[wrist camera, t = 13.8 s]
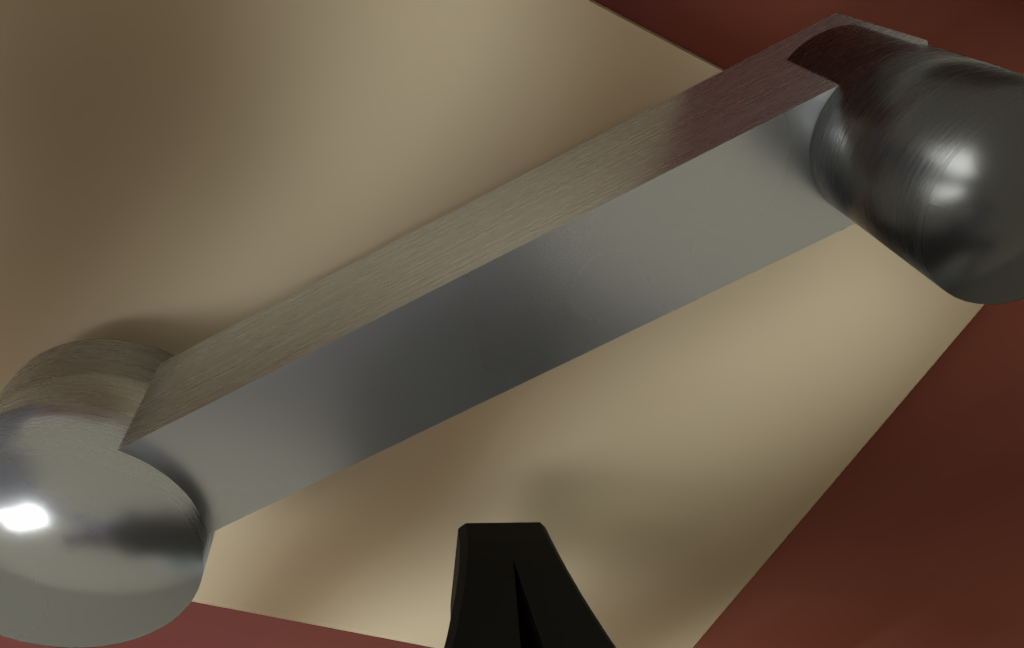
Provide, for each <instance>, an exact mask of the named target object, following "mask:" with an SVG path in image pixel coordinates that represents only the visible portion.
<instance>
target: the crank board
mask: <svg viewBox="0 0 1024 648" xmlns="http://www.w3.org/2000/svg"><path fill="white" fill-rule="evenodd" d="M722 71H724V69H722V68H720V67H718V66H716V65H714V64H712V63H711V62H709V61H707V60H705V59H703V58H701V57H699V56H697V55H695V54H694V53H692V52H690V51H688V50H686V49H684V48H682V47H680V46H678V45H677V44H675V43H673V42H671V41H669V40H667V39H665V38H663V37H661V36H660V35H658V34H656V33H654V32H652V31H650V30H648V29H646V28H644V27H643V26H641V25H639V24H637V23H635V22H633V21H631V20H629V19H627V18H626V17H624V16H622V15H620V14H618V13H616V12H614V11H612V10H610V9H609V8H607V7H605V6H603V5H601V4H599V3H597V2H595V1H593V0H0V393H1V391H2V390H3V389H4V387H5V386H6V385H7V384H8V382H9V381H10V380H11V378H12V377H13V376H14V375H15V374H16V372H17V371H18V370H19V369H20V368H21V367H22V366H23V365H24V364H25V363H27V362H28V361H29V360H30V359H32V358H33V357H35V356H37V355H38V354H40V353H41V352H44V351H46V350H48V349H50V348H53V347H55V346H58V345H62V344H65V343H68V342H73V341H79V340H85V339H101V338H102V339H120V340H127V341H134V342H138V343H142V344H146V345H150V346H153V347H156V348H159V349H162V350H165V351H167V352H169V353H171V354H173V355H177V354H179V353H181V352H183V351H185V350H187V349H188V348H190V347H192V346H194V345H196V344H198V343H200V342H202V341H204V340H206V339H208V338H210V337H212V336H213V335H215V334H217V333H219V332H221V331H223V330H225V329H227V328H229V327H231V326H233V325H235V324H237V323H239V322H240V321H242V320H244V319H246V318H248V317H250V316H252V315H254V314H256V313H258V312H260V311H262V310H264V309H265V308H267V307H269V306H271V305H273V304H275V303H277V302H279V301H281V300H283V299H285V298H287V297H289V296H291V295H292V294H294V293H296V292H298V291H300V290H302V289H304V288H306V287H308V286H310V285H312V284H314V283H316V282H317V281H319V280H321V279H323V278H325V277H327V276H329V275H331V274H333V273H335V272H337V271H339V270H341V269H342V268H344V267H346V266H348V265H350V264H352V263H354V262H356V261H358V260H360V259H362V258H364V257H366V256H368V255H369V254H371V253H373V252H375V251H377V250H379V249H381V248H383V247H385V246H387V245H389V244H391V243H393V242H394V241H396V240H398V239H400V238H402V237H404V236H406V235H408V234H410V233H412V232H414V231H416V230H418V229H420V228H421V227H423V226H425V225H427V224H429V223H431V222H433V221H435V220H437V219H439V218H441V217H443V216H445V215H446V214H448V213H450V212H452V211H454V210H456V209H458V208H460V207H462V206H464V205H466V204H468V203H470V202H471V201H473V200H475V199H477V198H479V197H481V196H483V195H485V194H487V193H489V192H491V191H493V190H495V189H497V188H498V187H500V186H502V185H504V184H506V183H508V182H510V181H512V180H514V179H516V178H518V177H520V176H522V175H523V174H525V173H527V172H529V171H531V170H533V169H535V168H537V167H539V166H541V165H543V164H545V163H547V162H548V161H550V160H552V159H554V158H556V157H558V156H560V155H562V154H564V153H566V152H568V151H570V150H572V149H574V148H575V147H577V146H579V145H581V144H583V143H585V142H587V141H589V140H591V139H593V138H595V137H597V136H599V135H600V134H602V133H604V132H606V131H608V130H610V129H612V128H614V127H616V126H618V125H620V124H622V123H624V122H626V121H627V120H629V119H631V118H633V117H635V116H637V115H639V114H641V113H643V112H645V111H647V110H649V109H651V108H652V107H654V106H656V105H658V104H660V103H662V102H664V101H666V100H668V99H670V98H672V97H674V96H676V95H677V94H679V93H681V92H683V91H685V90H687V89H689V88H691V87H693V86H695V85H697V84H699V83H701V82H703V81H704V80H706V79H708V78H710V77H712V76H714V75H716V74H718V73H720V72H722ZM983 305H984V304H976V303H971V302H966V301H963V300H960V299H958V298H955V297H954V296H952V295H950V294H949V293H947V292H946V291H944V290H943V289H942V288H940V287H939V286H938V285H936V284H935V283H934V282H932V281H931V280H930V279H928V278H927V277H926V276H924V275H923V274H922V273H920V272H919V271H918V270H916V269H915V268H914V267H913V266H911V265H910V264H909V263H907V262H906V261H905V260H903V259H902V258H901V257H899V256H898V255H897V254H895V253H894V252H893V251H891V250H890V249H889V248H887V247H886V246H885V245H883V244H882V243H881V242H879V241H878V240H877V239H876V238H874V237H873V236H872V235H870V234H869V233H868V232H866V231H865V230H864V229H862V228H861V227H860V226H858V225H857V224H853V225H851V226H849V227H847V228H845V229H843V230H841V231H839V232H837V233H835V234H833V235H831V236H828V237H826V238H824V239H822V240H820V241H818V242H816V243H814V244H812V245H810V246H808V247H806V248H803V249H801V250H799V251H797V252H795V253H793V254H791V255H789V256H787V257H785V258H783V259H780V260H778V261H776V262H774V263H772V264H770V265H768V266H766V267H764V268H762V269H760V270H758V271H755V272H753V273H751V274H749V275H747V276H745V277H743V278H741V279H739V280H737V281H735V282H733V283H730V284H728V285H726V286H724V287H722V288H720V289H718V290H716V291H714V292H712V293H710V294H708V295H705V296H703V297H701V298H699V299H697V300H695V301H693V302H691V303H689V304H687V305H685V306H683V307H680V308H678V309H676V310H674V311H672V312H670V313H668V314H666V315H664V316H662V317H660V318H658V319H655V320H653V321H651V322H649V323H647V324H645V325H643V326H641V327H639V328H637V329H635V330H633V331H630V332H628V333H626V334H624V335H622V336H620V337H618V338H616V339H614V340H612V341H610V342H608V343H605V344H603V345H601V346H599V347H597V348H595V349H593V350H591V351H589V352H587V353H585V354H583V355H580V356H578V357H576V358H574V359H572V360H570V361H568V362H566V363H564V364H562V365H560V366H558V367H555V368H553V369H551V370H549V371H547V372H545V373H543V374H541V375H539V376H537V377H535V378H532V379H530V380H528V381H526V382H524V383H522V384H520V385H518V386H516V387H514V388H512V389H510V390H507V391H505V392H503V393H501V394H499V395H497V396H495V397H493V398H491V399H489V400H487V401H485V402H482V403H480V404H478V405H476V406H474V407H472V408H470V409H468V410H466V411H464V412H462V413H460V414H457V415H455V416H453V417H451V418H449V419H447V420H445V421H443V422H441V423H439V424H437V425H435V426H432V427H430V428H428V429H426V430H424V431H422V432H420V433H418V434H416V435H414V436H412V437H410V438H407V439H405V440H403V441H401V442H399V443H397V444H395V445H393V446H391V447H389V448H387V449H385V450H382V451H380V452H378V453H376V454H374V455H372V456H370V457H368V458H366V459H364V460H362V461H360V462H357V463H355V464H353V465H351V466H349V467H347V468H345V469H343V470H341V471H339V472H337V473H335V474H332V475H330V476H328V477H326V478H324V479H322V480H320V481H318V482H316V483H314V484H312V485H310V486H307V487H305V488H303V489H301V490H299V491H297V492H295V493H293V494H291V495H289V496H287V497H284V498H282V499H280V500H278V501H276V502H274V503H272V504H270V505H268V506H266V507H264V508H262V509H259V510H257V511H255V512H253V513H251V514H249V515H247V516H245V517H243V518H241V519H239V520H237V521H234V522H232V523H230V524H228V525H226V526H224V527H222V528H220V529H218V530H216V531H215V534H214V537H213V541H212V544H211V548H210V552H209V555H208V559H207V562H206V566H205V569H204V573H203V576H202V580H201V583H200V586H199V589H198V591H197V593H196V595H195V597H194V598H193V600H192V601H193V602H198V603H203V604H209V605H214V606H219V607H224V608H230V609H235V610H240V611H245V612H250V613H256V614H261V615H266V616H271V617H277V618H282V619H287V620H292V621H298V622H303V623H308V624H313V625H318V626H324V627H329V628H334V629H339V630H345V631H350V632H355V633H360V634H366V635H371V636H376V637H381V638H386V639H392V640H397V641H402V642H407V643H413V644H418V645H423V646H428V647H434V648H444V646H445V642H446V638H447V634H448V629H449V624H450V619H451V614H450V603H451V594H452V584H453V574H454V564H455V555H456V545H457V535H458V528H460V527H461V526H462V525H464V524H465V523H512V522H540V523H541V524H542V525H543V526H545V527H546V529H547V532H548V534H549V536H550V538H551V540H552V542H553V544H554V546H555V548H556V549H557V551H558V553H559V555H560V557H561V559H562V561H563V563H564V564H565V566H566V568H567V570H568V572H569V573H570V575H571V577H572V578H573V580H574V582H575V584H576V585H577V587H578V589H579V591H580V592H581V594H582V596H583V597H584V599H585V600H586V602H587V604H588V605H589V607H590V609H591V610H592V612H593V613H594V615H595V616H596V618H597V619H598V621H599V622H600V624H601V626H602V627H603V629H604V630H605V632H606V633H607V635H608V636H609V638H610V639H611V641H612V642H613V644H614V645H615V647H616V648H693V646H694V645H695V644H696V643H697V642H698V641H699V639H700V638H701V637H702V636H703V635H704V633H705V632H706V631H707V630H708V629H709V628H710V626H711V625H712V624H713V623H714V622H715V621H716V619H717V618H718V617H719V616H720V615H721V613H722V612H723V611H724V610H725V609H726V608H727V606H728V605H729V604H730V603H731V602H732V601H733V599H734V598H735V597H736V596H737V595H738V594H739V592H740V591H741V590H742V589H743V588H744V586H745V585H746V584H747V583H748V582H749V581H750V579H751V578H752V577H753V576H754V575H755V574H756V572H757V571H758V570H759V569H760V568H761V566H762V565H763V564H764V563H765V562H766V561H767V559H768V558H769V557H770V556H771V555H772V554H773V552H774V551H775V550H776V549H777V548H778V546H779V545H780V544H781V543H782V542H783V541H784V539H785V538H786V537H787V536H788V535H789V534H790V532H791V531H792V530H793V529H794V528H795V526H796V525H797V524H798V523H799V522H800V521H801V519H802V518H803V517H804V516H805V515H806V514H807V512H808V511H809V510H810V509H811V508H812V506H813V505H814V504H815V503H816V502H817V501H818V499H819V498H820V497H821V496H822V495H823V494H824V492H825V491H826V490H827V489H828V488H829V486H830V485H831V484H832V483H833V482H834V481H835V479H836V478H837V477H838V476H839V475H840V474H841V472H842V471H843V470H844V469H845V468H846V466H847V465H848V464H849V463H850V462H851V461H852V459H853V458H854V457H855V456H856V455H857V454H858V452H859V451H860V450H861V449H862V448H863V446H864V445H865V444H866V443H867V442H868V441H869V439H870V438H871V437H872V436H873V435H874V434H875V432H876V431H877V430H878V429H879V428H880V426H881V425H882V424H883V423H884V422H885V421H886V419H887V418H888V417H889V416H890V415H891V414H892V412H893V411H894V410H895V409H896V408H897V407H898V405H899V404H900V403H901V402H902V401H903V399H904V398H905V397H906V396H907V395H908V394H909V392H910V391H911V390H912V389H913V388H914V387H915V385H916V384H917V383H918V382H919V381H920V379H921V378H922V377H923V376H924V375H925V374H926V372H927V371H928V370H929V369H930V368H931V367H932V365H933V364H934V363H935V362H936V361H937V359H938V358H939V357H940V356H941V355H942V354H943V352H944V351H945V350H946V349H947V348H948V347H949V345H950V344H951V343H952V342H953V341H954V339H955V338H956V337H957V336H958V335H959V334H960V332H961V331H962V330H963V329H964V328H965V327H966V325H967V324H968V323H969V322H970V321H971V319H972V318H973V317H974V316H975V315H976V314H977V312H978V311H979V310H980V309H981V308H982V307H983Z"/></svg>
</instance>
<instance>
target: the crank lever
mask: <svg viewBox="0 0 1024 648" xmlns="http://www.w3.org/2000/svg"><path fill="white" fill-rule="evenodd" d="M853 224H857V225H858V226H860V227H861V228H862V229H864V230H865V231H866V232H868V233H869V234H870V235H872V236H873V237H874V238H876V239H877V240H878V241H879V242H881V243H882V244H883V245H885V246H886V247H887V248H889V249H890V250H891V251H893V252H894V253H895V254H897V255H898V256H899V257H901V258H902V259H903V260H905V261H906V262H907V263H909V264H910V265H911V266H913V267H914V268H915V269H916V270H918V271H919V272H920V273H922V274H923V275H924V276H926V277H927V278H928V279H930V280H931V281H932V282H934V283H935V284H936V285H938V286H939V287H940V288H942V289H943V290H944V291H946V292H947V293H949V294H950V295H952V296H954V297H955V298H958V299H960V300H963V301H966V302H971V303H976V304H1002V303H1007V302H1012V301H1016V300H1020V299H1023V298H1024V74H1021V73H1018V72H1014V71H1011V70H1008V69H1005V68H1002V67H998V66H995V65H992V64H989V63H986V62H983V61H979V60H976V59H973V58H970V57H967V56H963V55H960V54H957V53H954V52H951V51H948V50H944V49H941V48H938V47H935V46H932V45H928V42H927V40H925V39H921V38H918V37H915V36H912V35H908V34H905V33H902V32H898V31H895V30H892V29H889V28H885V27H882V26H879V25H876V24H872V23H869V22H866V21H863V20H859V19H856V18H853V17H850V16H846V15H843V14H840V13H837V12H835V13H833V14H832V15H830V16H828V17H826V18H824V19H822V20H820V21H818V22H816V23H814V24H812V25H810V26H808V27H806V28H805V29H803V30H801V31H799V32H797V33H795V34H793V35H791V36H789V37H787V38H785V39H783V40H781V41H780V42H778V43H776V44H774V45H772V46H770V47H768V48H766V49H764V50H762V51H760V52H758V53H756V54H755V55H753V56H751V57H749V58H747V59H745V60H743V61H741V62H739V63H737V64H735V65H733V66H731V67H729V68H728V69H726V70H724V71H722V72H720V73H718V74H716V75H714V76H712V77H710V78H708V79H706V80H704V81H703V82H701V83H699V84H697V85H695V86H693V87H691V88H689V89H687V90H685V91H683V92H681V93H679V94H677V95H676V96H674V97H672V98H670V99H668V100H666V101H664V102H662V103H660V104H658V105H656V106H654V107H652V108H651V109H649V110H647V111H645V112H643V113H641V114H639V115H637V116H635V117H633V118H631V119H629V120H627V121H626V122H624V123H622V124H620V125H618V126H616V127H614V128H612V129H610V130H608V131H606V132H604V133H602V134H600V135H599V136H597V137H595V138H593V139H591V140H589V141H587V142H585V143H583V144H581V145H579V146H577V147H575V148H574V149H572V150H570V151H568V152H566V153H564V154H562V155H560V156H558V157H556V158H554V159H552V160H550V161H548V162H547V163H545V164H543V165H541V166H539V167H537V168H535V169H533V170H531V171H529V172H527V173H525V174H523V175H522V176H520V177H518V178H516V179H514V180H512V181H510V182H508V183H506V184H504V185H502V186H500V187H498V188H497V189H495V190H493V191H491V192H489V193H487V194H485V195H483V196H481V197H479V198H477V199H475V200H473V201H471V202H470V203H468V204H466V205H464V206H462V207H460V208H458V209H456V210H454V211H452V212H450V213H448V214H446V215H445V216H443V217H441V218H439V219H437V220H435V221H433V222H431V223H429V224H427V225H425V226H423V227H421V228H420V229H418V230H416V231H414V232H412V233H410V234H408V235H406V236H404V237H402V238H400V239H398V240H396V241H394V242H393V243H391V244H389V245H387V246H385V247H383V248H381V249H379V250H377V251H375V252H373V253H371V254H369V255H368V256H366V257H364V258H362V259H360V260H358V261H356V262H354V263H352V264H350V265H348V266H346V267H344V268H342V269H341V270H339V271H337V272H335V273H333V274H331V275H329V276H327V277H325V278H323V279H321V280H319V281H317V282H316V283H314V284H312V285H310V286H308V287H306V288H304V289H302V290H300V291H298V292H296V293H294V294H292V295H291V296H289V297H287V298H285V299H283V300H281V301H279V302H277V303H275V304H273V305H271V306H269V307H267V308H265V309H264V310H262V311H260V312H258V313H256V314H254V315H252V316H250V317H248V318H246V319H244V320H242V321H240V322H239V323H237V324H235V325H233V326H231V327H229V328H227V329H225V330H223V331H221V332H219V333H217V334H215V335H213V336H212V337H210V338H208V339H206V340H204V341H202V342H200V343H198V344H196V345H194V346H192V347H190V348H188V349H187V350H185V351H183V352H181V353H179V354H177V355H173V354H171V353H169V352H167V351H165V350H162V349H159V348H156V347H153V346H150V345H146V344H142V343H138V342H134V341H127V340H120V339H102V338H101V339H85V340H79V341H73V342H68V343H65V344H62V345H58V346H55V347H53V348H50V349H48V350H46V351H44V352H41V353H40V354H38V355H37V356H35V357H33V358H32V359H30V360H29V361H28V362H27V363H25V364H24V365H23V366H22V367H21V368H20V369H19V370H18V371H17V372H16V374H15V375H14V376H13V377H12V378H11V380H10V381H9V382H8V384H7V385H6V386H5V387H4V389H3V390H2V391H1V393H0V635H1V636H4V637H8V638H11V639H15V640H18V641H23V642H28V643H33V644H38V645H46V646H54V647H95V646H105V645H111V644H116V643H121V642H125V641H129V640H132V639H136V638H139V637H141V636H144V635H146V634H149V633H151V632H154V631H155V630H157V629H159V628H161V627H163V626H165V625H166V624H168V623H169V622H170V621H172V620H173V619H175V618H176V617H177V616H178V615H179V614H180V613H181V612H183V611H184V610H185V609H186V608H187V606H188V605H189V604H190V602H191V601H192V600H193V598H194V597H195V595H196V593H197V591H198V589H199V586H200V583H201V580H202V576H203V573H204V569H205V566H206V562H207V559H208V555H209V552H210V548H211V544H212V541H213V537H214V534H215V531H216V530H218V529H220V528H222V527H224V526H226V525H228V524H230V523H232V522H234V521H237V520H239V519H241V518H243V517H245V516H247V515H249V514H251V513H253V512H255V511H257V510H259V509H262V508H264V507H266V506H268V505H270V504H272V503H274V502H276V501H278V500H280V499H282V498H284V497H287V496H289V495H291V494H293V493H295V492H297V491H299V490H301V489H303V488H305V487H307V486H310V485H312V484H314V483H316V482H318V481H320V480H322V479H324V478H326V477H328V476H330V475H332V474H335V473H337V472H339V471H341V470H343V469H345V468H347V467H349V466H351V465H353V464H355V463H357V462H360V461H362V460H364V459H366V458H368V457H370V456H372V455H374V454H376V453H378V452H380V451H382V450H385V449H387V448H389V447H391V446H393V445H395V444H397V443H399V442H401V441H403V440H405V439H407V438H410V437H412V436H414V435H416V434H418V433H420V432H422V431H424V430H426V429H428V428H430V427H432V426H435V425H437V424H439V423H441V422H443V421H445V420H447V419H449V418H451V417H453V416H455V415H457V414H460V413H462V412H464V411H466V410H468V409H470V408H472V407H474V406H476V405H478V404H480V403H482V402H485V401H487V400H489V399H491V398H493V397H495V396H497V395H499V394H501V393H503V392H505V391H507V390H510V389H512V388H514V387H516V386H518V385H520V384H522V383H524V382H526V381H528V380H530V379H532V378H535V377H537V376H539V375H541V374H543V373H545V372H547V371H549V370H551V369H553V368H555V367H558V366H560V365H562V364H564V363H566V362H568V361H570V360H572V359H574V358H576V357H578V356H580V355H583V354H585V353H587V352H589V351H591V350H593V349H595V348H597V347H599V346H601V345H603V344H605V343H608V342H610V341H612V340H614V339H616V338H618V337H620V336H622V335H624V334H626V333H628V332H630V331H633V330H635V329H637V328H639V327H641V326H643V325H645V324H647V323H649V322H651V321H653V320H655V319H658V318H660V317H662V316H664V315H666V314H668V313H670V312H672V311H674V310H676V309H678V308H680V307H683V306H685V305H687V304H689V303H691V302H693V301H695V300H697V299H699V298H701V297H703V296H705V295H708V294H710V293H712V292H714V291H716V290H718V289H720V288H722V287H724V286H726V285H728V284H730V283H733V282H735V281H737V280H739V279H741V278H743V277H745V276H747V275H749V274H751V273H753V272H755V271H758V270H760V269H762V268H764V267H766V266H768V265H770V264H772V263H774V262H776V261H778V260H780V259H783V258H785V257H787V256H789V255H791V254H793V253H795V252H797V251H799V250H801V249H803V248H806V247H808V246H810V245H812V244H814V243H816V242H818V241H820V240H822V239H824V238H826V237H828V236H831V235H833V234H835V233H837V232H839V231H841V230H843V229H845V228H847V227H849V226H851V225H853Z"/></svg>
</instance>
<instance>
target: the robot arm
mask: <svg viewBox="0 0 1024 648" xmlns="http://www.w3.org/2000/svg"><path fill="white" fill-rule="evenodd" d="M450 614H451V619H450V624H449V629H448V634H447V638H446V642H445V646H444V648H616V647H615V645H614V644H613V642H612V641H611V639H610V638H609V636H608V635H607V633H606V632H605V630H604V629H603V627H602V626H601V624H600V622H599V621H598V619H597V618H596V616H595V615H594V613H593V612H592V610H591V609H590V607H589V605H588V604H587V602H586V600H585V599H584V597H583V596H582V594H581V592H580V591H579V589H578V587H577V585H576V584H575V582H574V580H573V578H572V577H571V575H570V573H569V572H568V570H567V568H566V566H565V564H564V563H563V561H562V559H561V557H560V555H559V553H558V551H557V549H556V548H555V546H554V544H553V542H552V540H551V538H550V536H549V534H548V532H547V529H546V527H545V526H543V525H542V524H541V523H540V522H512V523H465V524H464V525H462V526H461V527H460V528H458V535H457V545H456V555H455V564H454V574H453V584H452V594H451V603H450Z"/></svg>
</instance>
